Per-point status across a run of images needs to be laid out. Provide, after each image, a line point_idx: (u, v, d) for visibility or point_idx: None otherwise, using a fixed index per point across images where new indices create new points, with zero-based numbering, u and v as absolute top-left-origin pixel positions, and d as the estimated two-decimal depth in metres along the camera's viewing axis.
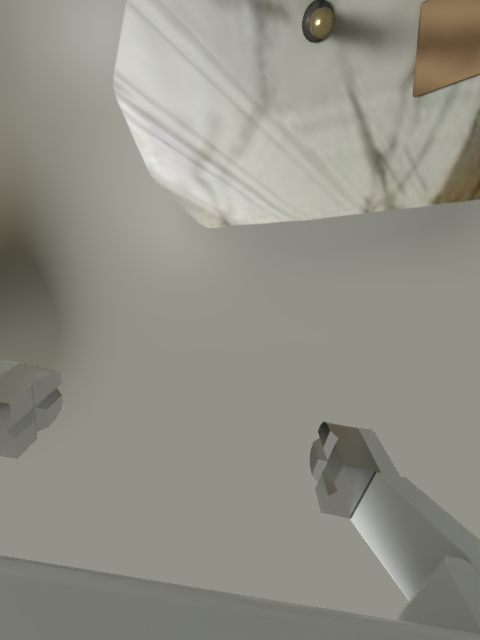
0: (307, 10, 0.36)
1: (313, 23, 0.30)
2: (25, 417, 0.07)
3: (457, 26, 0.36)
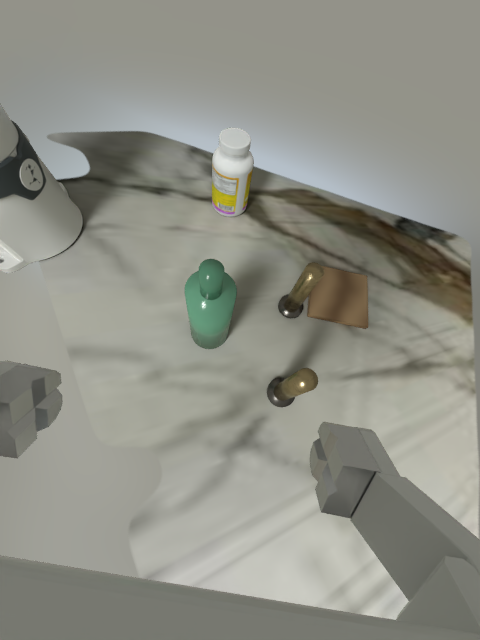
0: (270, 397, 0.37)
1: (303, 387, 0.28)
2: (25, 417, 0.07)
3: (332, 295, 0.45)
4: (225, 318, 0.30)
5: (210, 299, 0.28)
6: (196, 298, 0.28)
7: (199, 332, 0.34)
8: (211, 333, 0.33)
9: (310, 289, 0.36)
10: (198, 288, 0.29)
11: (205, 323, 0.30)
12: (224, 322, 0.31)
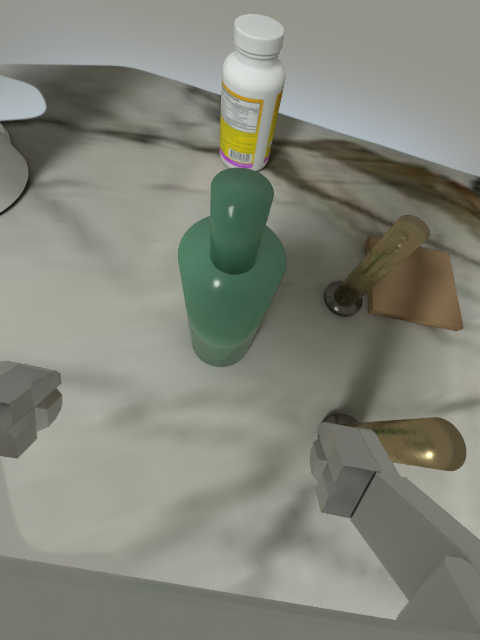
0: None
1: (439, 464, 0.13)
2: (25, 417, 0.07)
3: (403, 281, 0.30)
4: (259, 314, 0.15)
5: (233, 272, 0.13)
6: (203, 271, 0.13)
7: (206, 341, 0.19)
8: (229, 342, 0.18)
9: (395, 265, 0.21)
10: (207, 251, 0.14)
11: (219, 325, 0.15)
12: (255, 322, 0.16)
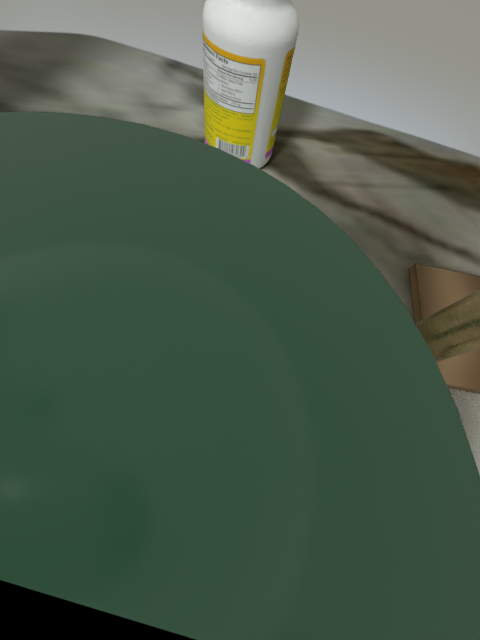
0: None
1: None
2: None
3: None
4: None
5: None
6: None
7: None
8: None
9: None
10: None
11: None
12: None
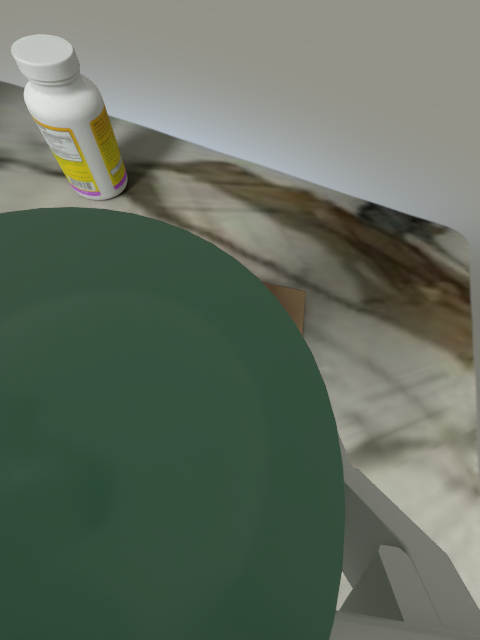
0: None
1: None
2: None
3: None
4: None
5: None
6: None
7: None
8: None
9: None
10: None
11: None
12: None
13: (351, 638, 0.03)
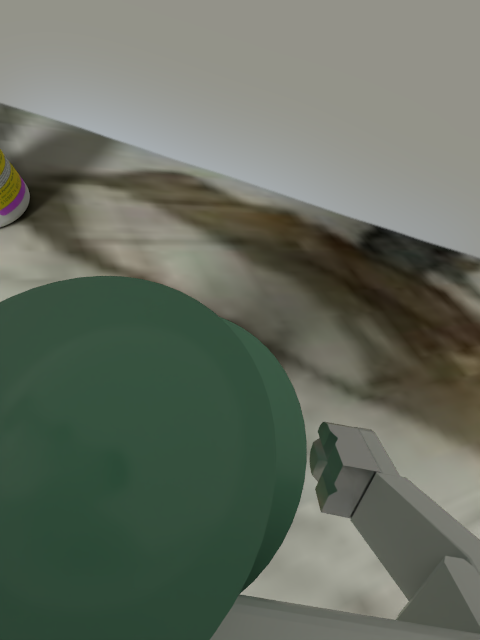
0: None
1: None
2: None
3: None
4: None
5: None
6: None
7: None
8: None
9: None
10: None
11: None
12: None
13: (351, 638, 0.03)
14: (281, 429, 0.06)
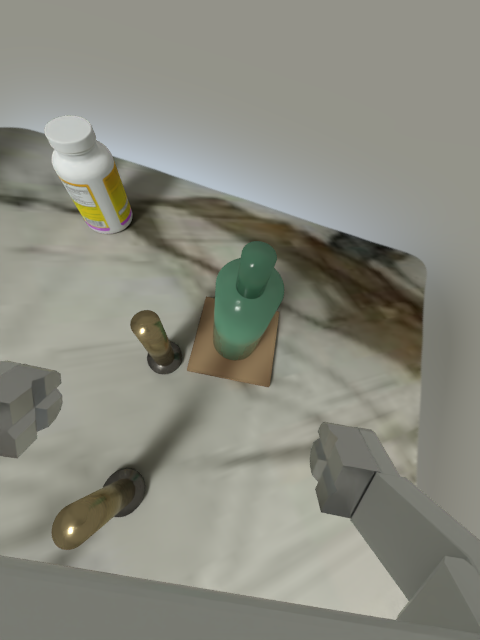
0: None
1: (60, 544, 0.16)
2: (25, 417, 0.07)
3: None
4: (266, 323, 0.23)
5: (251, 298, 0.21)
6: (232, 296, 0.21)
7: (228, 341, 0.26)
8: (245, 342, 0.26)
9: (154, 346, 0.24)
10: (233, 283, 0.21)
11: (240, 330, 0.23)
12: (263, 328, 0.24)
13: (351, 638, 0.03)
14: (277, 286, 0.22)
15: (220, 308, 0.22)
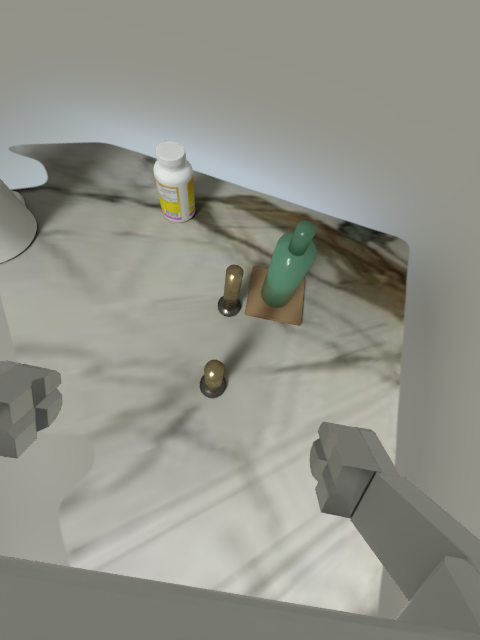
0: (202, 389, 0.40)
1: (209, 377, 0.31)
2: (25, 417, 0.07)
3: None
4: (305, 273, 0.38)
5: (298, 255, 0.35)
6: (286, 254, 0.36)
7: (277, 288, 0.41)
8: (288, 288, 0.41)
9: (235, 289, 0.39)
10: (287, 247, 0.36)
11: (288, 277, 0.38)
12: (302, 277, 0.39)
13: (351, 638, 0.03)
14: (313, 248, 0.36)
15: (278, 262, 0.36)
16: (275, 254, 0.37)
